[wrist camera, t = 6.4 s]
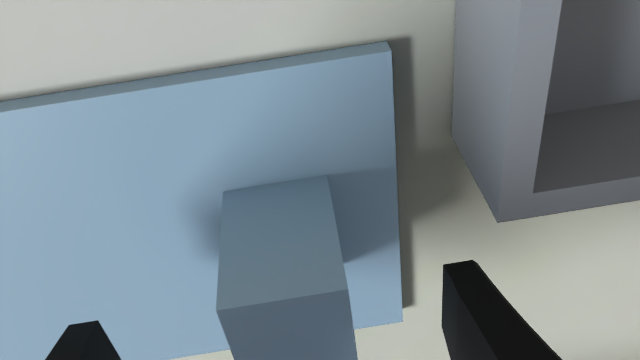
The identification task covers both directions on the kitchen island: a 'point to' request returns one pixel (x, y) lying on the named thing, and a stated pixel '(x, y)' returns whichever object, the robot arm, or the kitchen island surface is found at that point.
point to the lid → (205, 211)
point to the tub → (548, 103)
